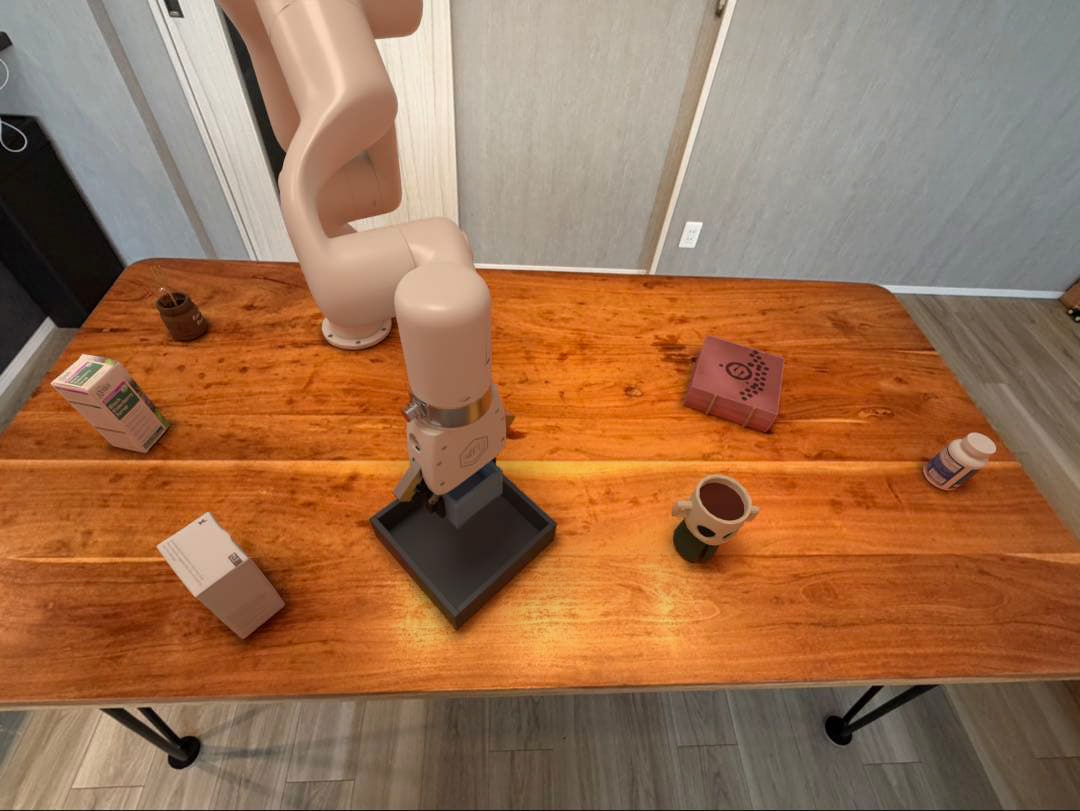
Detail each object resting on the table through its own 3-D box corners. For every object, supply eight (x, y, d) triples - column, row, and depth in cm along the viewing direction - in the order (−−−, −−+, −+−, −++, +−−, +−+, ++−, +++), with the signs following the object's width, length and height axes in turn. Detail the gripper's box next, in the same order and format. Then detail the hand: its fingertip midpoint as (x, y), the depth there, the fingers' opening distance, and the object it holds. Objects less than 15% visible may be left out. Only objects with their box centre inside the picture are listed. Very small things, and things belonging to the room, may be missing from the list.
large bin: (472, 463, 80) (471, 444, 76) (554, 540, 73) (557, 523, 69) (375, 535, 71) (368, 518, 68) (457, 631, 64) (454, 617, 60)
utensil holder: (175, 346, 92) (140, 291, 83) (169, 325, 95) (134, 270, 86) (211, 335, 94) (181, 280, 85) (204, 315, 97) (174, 261, 88)
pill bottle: (953, 469, 86) (997, 434, 79) (959, 495, 83) (1005, 462, 75) (919, 459, 87) (959, 424, 79) (924, 485, 83) (966, 450, 76)
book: (682, 408, 91) (690, 389, 87) (698, 353, 100) (706, 334, 96) (764, 436, 88) (777, 418, 84) (773, 377, 97) (784, 358, 93)
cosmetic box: (209, 596, 65) (149, 545, 53) (254, 562, 68) (206, 507, 57) (245, 643, 62) (190, 599, 50) (291, 605, 65) (248, 555, 53)
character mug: (658, 565, 72) (684, 521, 62) (653, 518, 76) (676, 470, 66) (735, 570, 72) (774, 527, 62) (725, 523, 76) (760, 476, 67)
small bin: (465, 458, 66) (463, 434, 62) (502, 493, 63) (503, 470, 59) (420, 490, 62) (415, 468, 58) (457, 529, 59) (455, 508, 55)
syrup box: (146, 454, 77) (88, 390, 66) (110, 446, 78) (47, 381, 67) (171, 425, 81) (120, 360, 70) (137, 418, 81) (81, 351, 70)
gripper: (398, 468, 42) (421, 558, 56) (544, 368, 51) (534, 467, 65) (347, 416, 46) (381, 513, 59) (494, 329, 54) (494, 432, 68)
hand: (461, 488), depth 62 cm, fingers closed on small bin, 7 cm apart
